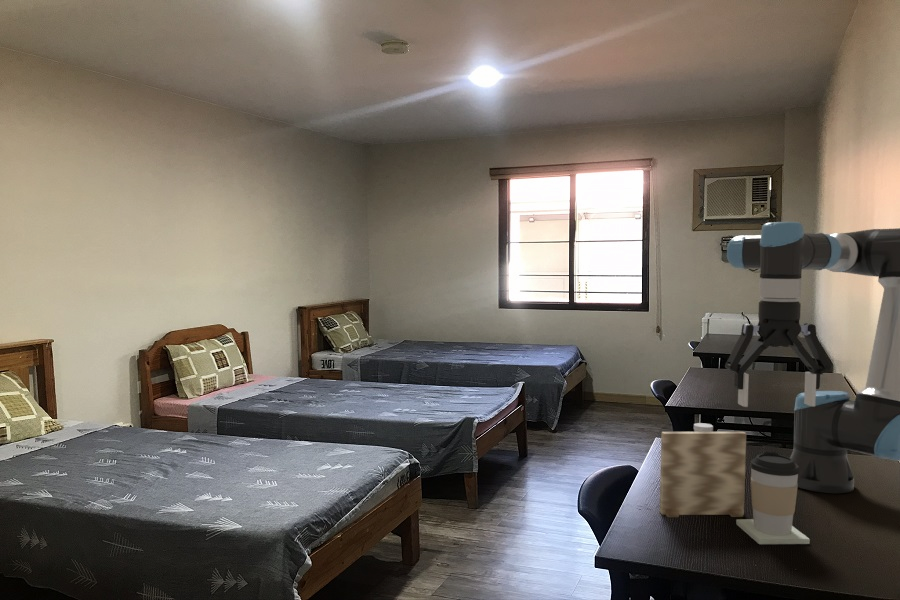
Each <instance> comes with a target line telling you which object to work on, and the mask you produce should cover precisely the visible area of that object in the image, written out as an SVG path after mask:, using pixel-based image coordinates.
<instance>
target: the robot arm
mask: <svg viewBox="0 0 900 600" xmlns="http://www.w3.org/2000/svg"><path fill="white" fill-rule="evenodd" d="M726 258H727V262H728V263H729V265H730V266H732V267H734V268H735V269H743V270H748V269H749V270H754V269H755V270H759V271H760V273H759V288H758V289H759V291H758V296H759V298H760V299H762V300H760V301H758V316H757V317H758V323H757V325H754V324H750V323H743V324H742V326H741V333H740V335H739V338H738V339H737V340H736V341H737V342H736V344H735V345H734V347H733V349H732V351H731V353H730V355H729V356H728V358H727V360H726V362H725V364H724V367H725V369H727V370H730V371H732V372H734V379H733V381H734V382H733V383H734V384H733V386H734V388H735V389H736V390H737V405H739V406H741V407H745V408H748V406H749V376H750V374H749V373H746V371H747V370H748V369H749V368H750V367H751V366H752V365H753V364H754V362H755V361H756V360H758V358H759V356H760V355H761V354H762V353H763V352H764V351H765V350H767V349H768V348H769V347H772V348H777V347H784V348H788V347H789V348H791V349H792V351H793V352H794V353H795V354H796V356H797V357H798V358H799V359H800V361H801V362H802V363H803V364H804V365H805V366H806V368H807V369H808V370H809V371H805V372H804V392H801V393H798V394H797V395H796V397H795V403H794V409H793V412H794V415H793V416H794V421H793V425H794V426H793V449H792V452H791V455H790V457H789V458H791V459H793V461H794V463H796V464H797V465H798V466H799V474H798V479H797V483H798V488H799V489H803V490H807V491H812V492H817V493H823V494H845V493H846V494H847V493H850V492H853V491H854V490H855V478H854V476H853V472H852V468H851V465H850V462H849V459H848V450H849V451H852V452H856V453H857V452H858V453H861V454H865V455H869V456H872V457H873V456H874V457H876V458H879V459H887V460H891V461H897V462H898V461H900V227H899V228H872V229H864V230H858V231H857V230H856V231H852V232H850V231H849V232H840V233H839V232H838V233H832V234H828V233H824V232H815V233H814V232H813V233H811V232H810V233H809V232H804V225H803V223H801V222H799V221H776V222H775V221H773V222H767V223H764V224H763V225H762V226H761V232H760V234H744V235H736V236H734V237H733V238H731V239H730V240H729V242H728V244H727V247H726ZM805 270H806V271H809V270H810V271H811V270H814V271H822V270H828V271H830V272H833V273H847V274H852V275H858V276H866V277H877V278H878V280H877V282H878V283H879V285H881V287H883V293H882V299H881V302H880V303H881V304H880V309H879V314H878V320H877V325H876V329H875V336H874V341H873V346H872V351H871V355H870V361H869V367H868V373H867V378H866V383H865V386H864V387H863V388H861V390H859V391H857V392H856V395H855V400H850V399H851V396H850V394H849V393H848V392H846V391H842V390H841V391H839V390H820V387H821V383H820V382H821V375H823V374H824V372H825V371H830V370H831V368H832V367H831V364H830V362H829V359H828V357H827V355H826V354H825V351H824V349H823V347H822V345H821V342H820V341H819V338H818V336H817V327H816V325H815V324H812V323H807V322H805V323H803V324H800V320H801V311H802V310H801V307H802V306H801V302H800V301H798V300H800V299H801V298H802V272H803V271H805ZM756 333H757V334H758V335H759V336H758V338H757V339H756V340H755V341H754V342H753V343H754V344H752V346H751V347H750V348H749V349H748V347H749V346H750V342H751V341H752V339H753V336H755V335H756ZM800 333H801V335H802V336H804V338H805V341H806V343H807V345H808V346H807V347H808V348H809V350H810V353H811V354H810V353H809V352H808V351H807V349H806V348H805V347H804V345H803V343H802V342H801V340H800V339H799V338H798V336H799V335H800ZM747 349H748V351H746V350H747ZM745 352H746V353H745ZM812 356H813V357H812Z"/></svg>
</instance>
